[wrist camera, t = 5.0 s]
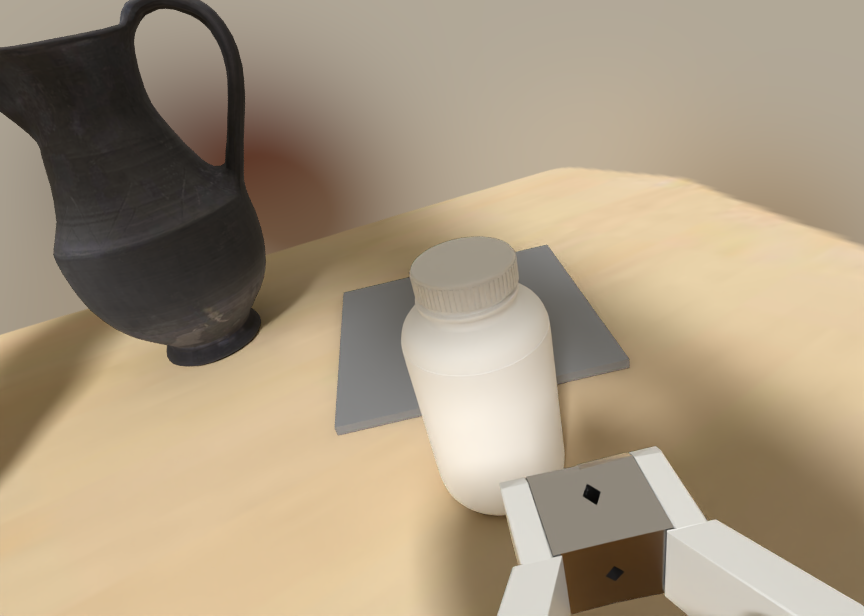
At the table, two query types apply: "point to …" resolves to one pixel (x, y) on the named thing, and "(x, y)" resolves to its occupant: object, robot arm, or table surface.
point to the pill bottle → (482, 370)
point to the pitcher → (141, 190)
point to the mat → (385, 364)
